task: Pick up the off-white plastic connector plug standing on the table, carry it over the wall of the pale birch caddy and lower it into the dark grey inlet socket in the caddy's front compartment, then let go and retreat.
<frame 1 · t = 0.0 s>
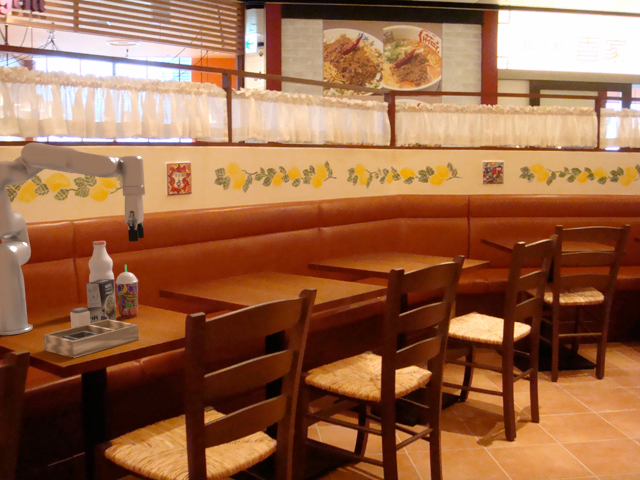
hand: (136, 239, 235), 31 cm above the table, tool pointing down, fingers open, 9 cm apart
smoothie: (128, 316, 254), on the table
caddy: (92, 344, 215), on the table
coffee box: (103, 324, 242), on the table
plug: (81, 334, 229), on the table
white milk bottle: (103, 311, 265), on the table
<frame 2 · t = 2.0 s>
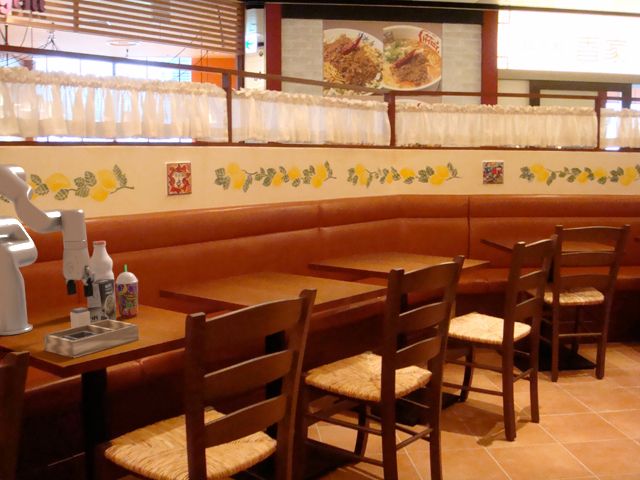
hand: (80, 295, 227), 14 cm above the table, tool pointing down, fingers open, 9 cm apart
nothing on the table moved.
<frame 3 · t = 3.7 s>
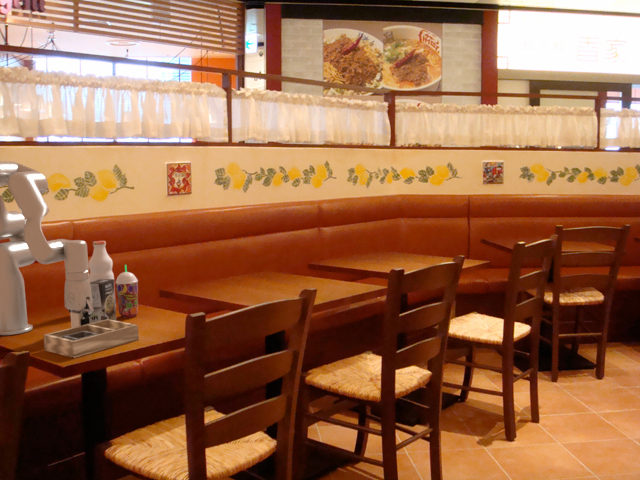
hand: (81, 328, 228), 2 cm above the table, tool pointing down, fingers closed on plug, 4 cm apart
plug: (81, 334, 229), on the table, touching gripper
everything else where it was.
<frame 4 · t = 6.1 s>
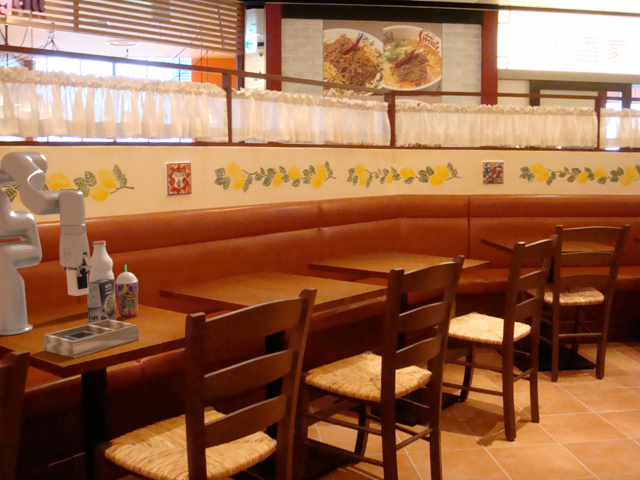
hand: (77, 287, 210), 20 cm above the table, tool pointing down, fingers closed on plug, 4 cm apart
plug: (78, 294, 210), point 17 cm above the table, touching gripper
everything else where it was.
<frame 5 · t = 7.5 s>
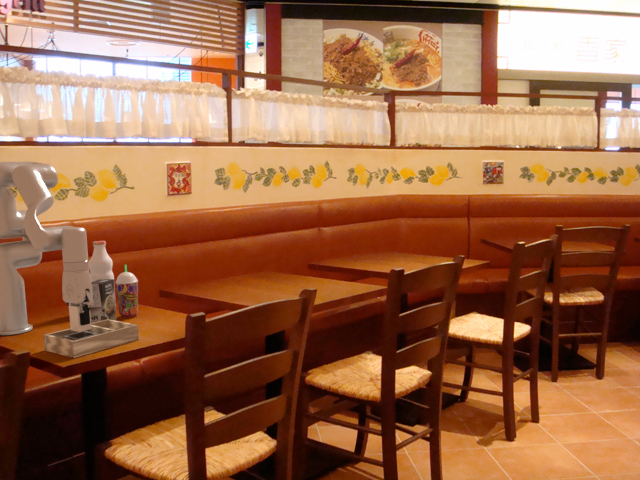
hand: (80, 322, 211), 8 cm above the table, tool pointing down, fingers closed on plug, 4 cm apart
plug: (81, 329, 211), point 6 cm above the table, touching gripper
everything else where it was.
when the fingers open (5 cm above the table, at t = 8.4 s): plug drops 1 cm, resting on caddy.
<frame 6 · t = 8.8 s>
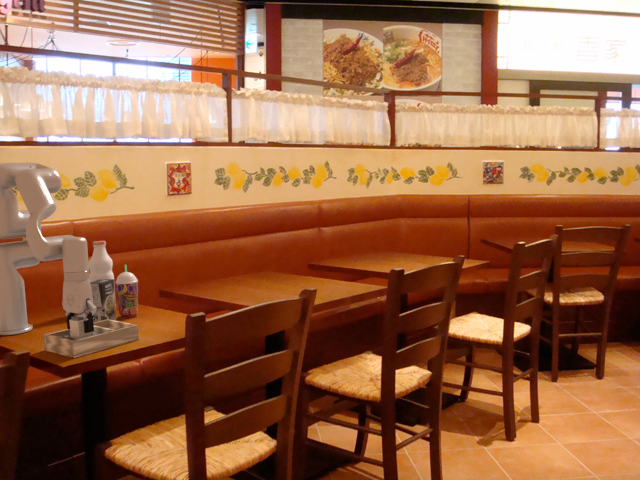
hand: (80, 330, 211), 6 cm above the table, tool pointing down, fingers open, 8 cm apart
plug: (81, 343, 212), point 1 cm above the table, touching caddy
everything else where it was.
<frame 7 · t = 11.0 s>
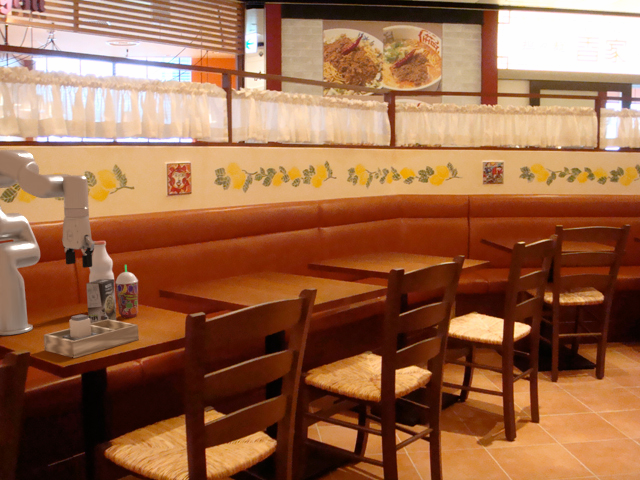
hand: (79, 265, 218), 25 cm above the table, tool pointing down, fingers open, 9 cm apart
nothing on the table moved.
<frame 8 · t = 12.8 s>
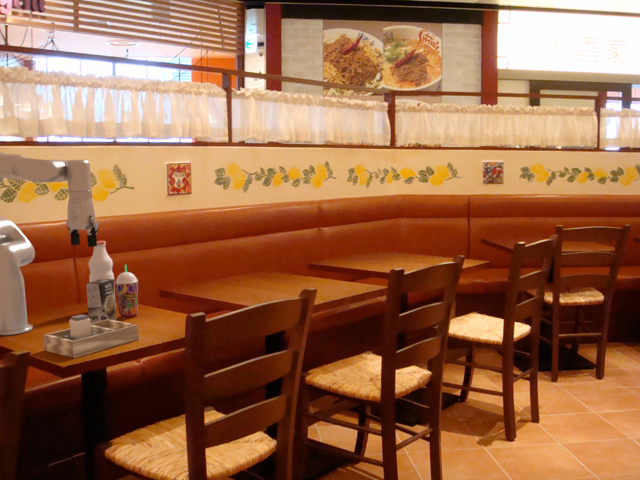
hand: (83, 245, 229), 30 cm above the table, tool pointing down, fingers open, 9 cm apart
nothing on the table moved.
at the end: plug 0.1 cm from the target spot on the caddy, point 1.3 cm above the caddy's base; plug tilted 0°; the gripper is holding nothing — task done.
